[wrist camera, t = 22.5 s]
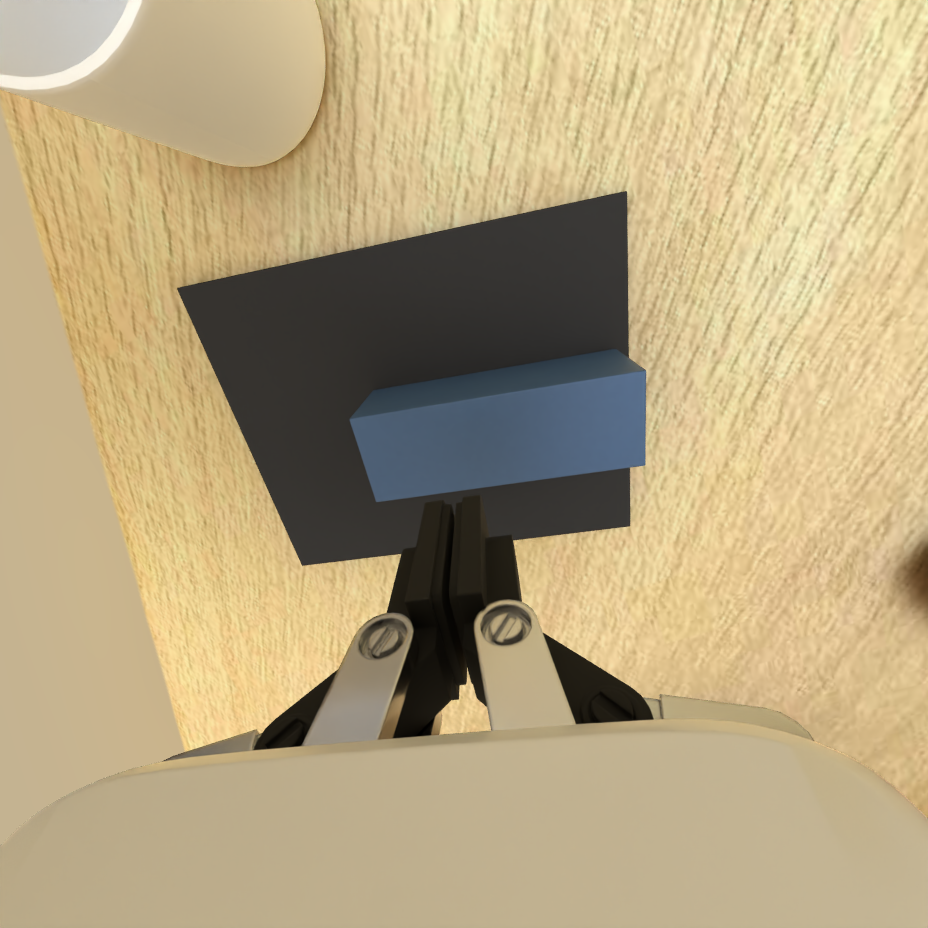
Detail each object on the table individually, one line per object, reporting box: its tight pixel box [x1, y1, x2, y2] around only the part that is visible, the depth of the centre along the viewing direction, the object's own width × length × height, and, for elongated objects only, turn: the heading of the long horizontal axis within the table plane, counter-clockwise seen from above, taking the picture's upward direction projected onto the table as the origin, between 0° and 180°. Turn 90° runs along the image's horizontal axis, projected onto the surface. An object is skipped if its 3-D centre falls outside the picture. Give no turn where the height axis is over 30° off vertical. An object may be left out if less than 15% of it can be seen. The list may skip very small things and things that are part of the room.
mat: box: [177, 191, 630, 566], centre depth 24 cm, size 22×18×1 cm
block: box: [350, 349, 646, 502], centre depth 21 cm, size 4×4×13 cm
